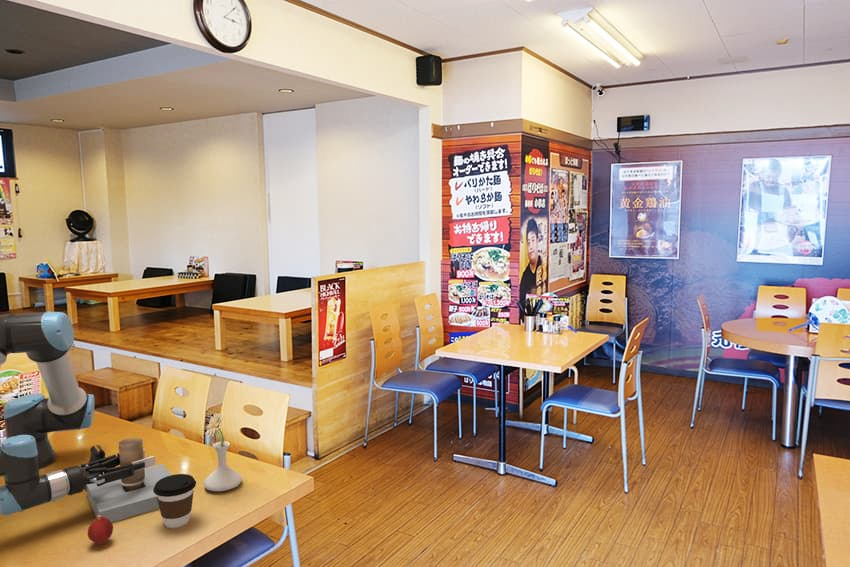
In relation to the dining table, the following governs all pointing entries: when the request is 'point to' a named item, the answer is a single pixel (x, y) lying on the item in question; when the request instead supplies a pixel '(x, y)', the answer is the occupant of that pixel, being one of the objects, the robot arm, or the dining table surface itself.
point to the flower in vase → (220, 461)
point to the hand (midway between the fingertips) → (149, 457)
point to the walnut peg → (130, 453)
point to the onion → (100, 530)
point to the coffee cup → (175, 499)
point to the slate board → (126, 496)
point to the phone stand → (96, 455)
